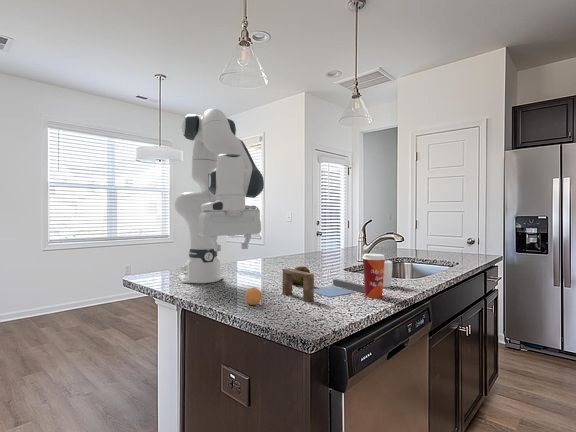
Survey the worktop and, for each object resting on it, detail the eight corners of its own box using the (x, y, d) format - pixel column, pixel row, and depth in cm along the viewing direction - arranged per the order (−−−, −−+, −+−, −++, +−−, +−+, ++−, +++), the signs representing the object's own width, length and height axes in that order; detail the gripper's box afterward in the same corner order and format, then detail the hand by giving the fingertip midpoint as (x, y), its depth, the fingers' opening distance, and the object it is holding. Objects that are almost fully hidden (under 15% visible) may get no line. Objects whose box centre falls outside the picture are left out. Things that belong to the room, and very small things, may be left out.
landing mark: (307, 290, 132) (307, 290, 132) (332, 286, 140) (332, 286, 140) (329, 297, 122) (329, 296, 122) (355, 292, 129) (355, 292, 129)
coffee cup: (375, 299, 118) (375, 256, 118) (357, 295, 125) (357, 254, 125) (390, 296, 123) (390, 254, 123) (372, 292, 130) (372, 252, 130)
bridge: (306, 302, 115) (307, 274, 115) (282, 293, 127) (282, 269, 127) (313, 300, 117) (313, 273, 117) (289, 292, 128) (289, 268, 128)
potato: (303, 281, 152) (303, 263, 152) (312, 287, 139) (312, 267, 139) (285, 281, 150) (285, 263, 150) (292, 288, 137) (292, 268, 137)
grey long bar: (333, 285, 142) (333, 279, 142) (336, 284, 144) (336, 278, 144) (366, 293, 128) (366, 286, 128) (369, 292, 129) (369, 286, 129)
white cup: (385, 288, 137) (385, 263, 137) (368, 285, 143) (368, 261, 142) (396, 286, 142) (396, 261, 142) (379, 283, 148) (379, 259, 148)
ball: (241, 304, 112) (241, 287, 112) (256, 301, 115) (256, 285, 115) (249, 308, 107) (249, 290, 107) (264, 305, 111) (264, 288, 111)
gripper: (254, 205, 115) (255, 247, 115) (195, 205, 103) (196, 251, 103) (264, 205, 110) (265, 248, 110) (204, 204, 98) (204, 253, 98)
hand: (231, 249), depth 106 cm, fingers open, 8 cm apart
